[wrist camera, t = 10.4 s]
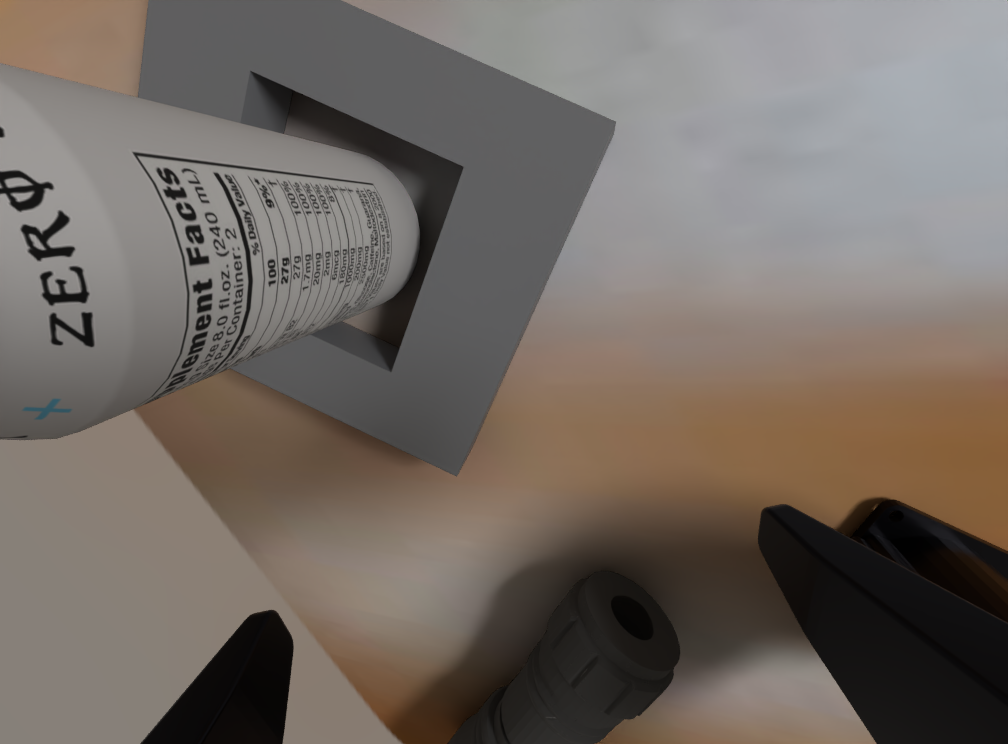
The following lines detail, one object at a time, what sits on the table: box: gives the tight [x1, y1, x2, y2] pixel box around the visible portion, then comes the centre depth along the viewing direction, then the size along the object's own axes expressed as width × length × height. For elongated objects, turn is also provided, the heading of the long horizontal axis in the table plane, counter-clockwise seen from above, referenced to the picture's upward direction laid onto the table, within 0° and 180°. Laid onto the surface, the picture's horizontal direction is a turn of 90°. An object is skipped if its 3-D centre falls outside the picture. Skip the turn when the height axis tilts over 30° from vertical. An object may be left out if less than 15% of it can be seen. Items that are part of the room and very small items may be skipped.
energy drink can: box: [0, 63, 420, 440], centre depth 13 cm, size 6×6×15 cm
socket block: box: [138, 0, 616, 476], centre depth 19 cm, size 16×14×2 cm
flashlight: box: [448, 571, 680, 744], centre depth 23 cm, size 15×5×5 cm, turn 151°
